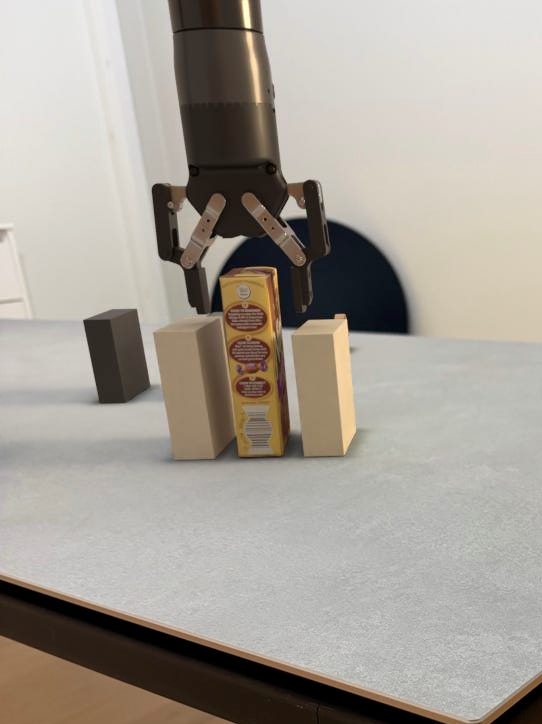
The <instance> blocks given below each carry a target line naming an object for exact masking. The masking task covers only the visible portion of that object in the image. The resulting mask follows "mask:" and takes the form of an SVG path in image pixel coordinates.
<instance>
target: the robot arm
mask: <svg viewBox="0 0 542 724" xmlns="http://www.w3.org/2000/svg"><path fill="white" fill-rule="evenodd" d="M261 1H262V0H167V7H168V14H169V19H170V20H169V21H170V28H171V34H172V46H173V47H172V48H173V71H174V79H175V85H176V87H175V88H176V95H177V101H178V107H179V115H180V123H181V128H182V135H183V143H184V150H185V157H186V163H187V169H188V179H187V182H186V185H175V184H171V183H169V182H157V183H154V184H153V185H152V186H151V198H152V209H153V217H154V229H155V236H156V245H157V246H156V248H157V255H158V257H159V259H160V260H162V261H163V262H170V263H172V264H174V265H178V266H179V267H180V268H181V269H182V271H183V276H184V277H183V278H184V283H185V289H186V296H187V302H188V305H189V306H190V308H191V309H192V308H193V309H194V308H195V311H196V314H197V315H198V316H200V315H201V316H202V315H209V314H211V309H212V308H211V307H212V306H211V300H210V292H209V285H208V279H207V272H206V267H205V266H204V267H202V263H203V261H204V259H205V257H206V256H207V254H208V252H209V250H210V248H211V247H212V245H214V244H215V242H216V240H217V238H218V237H221V238H222V239H234V238H238V237H241V236H242V237H245V238H249V239H258V238H259V239H260V238H263V237H265V236H267V235H268V236H269V237H270V238H271V240H272V241H273V242H274V243H275V245H277V246H278V247H279V248H280V249H281V250H282V252H283V253H284V254H285V255H286V256H287V257H288V259H289V260H290V261H291V263H292V266H290V267H289V270H290V281H291V290H292V298H293V300H292V301H293V308H294V313H295V314H298V313H299V314H301V313H302V314H303V313H305V312H306V311H307V306H310V305H311V304H312V301H313V298H314V296H313V285H312V275H311V274H312V273H311V265H312V263H313V262H314V261H316V260H318V259H320V258H324V257H325V256H328V254H330V252H331V244H330V236H329V228H328V222H327V215H326V214H327V213H326V208H325V202H324V195H323V194H324V193H323V188H322V187H323V186H322V184H321V182H320V181H319V180H317V179H314V178H312V179H311V178H309V179H307V180H304V181H299V182H290V183H288V182H287V180H286V179H285V177H284V176H285V175H284V174H283V170H282V163H281V162H282V161H281V154H280V153H281V151H280V143H279V134H278V125H277V114H276V103H275V100H276V90H275V85H274V83H273V75H272V69H271V63H270V62H271V61H270V58H269V53H268V50H267V44H266V38H265V35H264V34H265V29H264V21H263V10H262V2H261ZM290 197H292V198H293V199H294V200H295V201H296V205H297V206H298V208H299V209H301V210H305V213H306V220H307V228H308V232H309V240H310V241H309V242H310V245H308V246H305V245H304V244H303V243H302V242H301V240H300V239H299V238H298V237H297V235H296V233H295V231H294V230H293V229H292V227H290V225H289V224H288V223H287V221H286V220H285V219H284V218H283V217H282V216H281V214H282V212H283V210H284V209H285V207H286V205H287V203H288V201H289V199H290ZM185 200H187V202H188V203H189V204H190V205H191V206H192V207H193V209H194V210H195V211H196V212H197V214H198V215H199V216H200V219H199V220H198V222H197V224H196V226H195V228H194V229H193V231H192V233H191V235H190V239H189V241H188V243H187V245H186V247H185V248H184V247H181V241H180V232H179V223H178V213H180V212H181V211H182V210H183V208H184V202H185Z"/></svg>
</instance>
